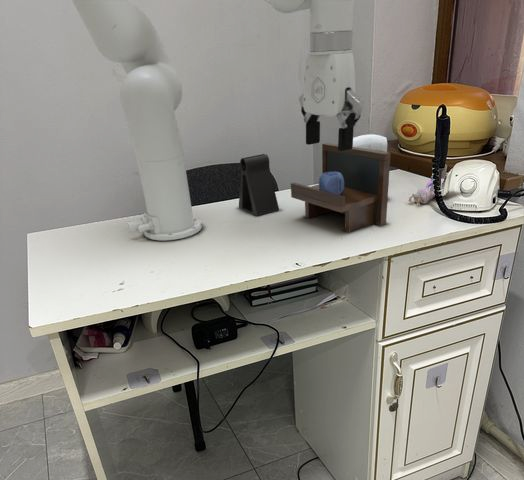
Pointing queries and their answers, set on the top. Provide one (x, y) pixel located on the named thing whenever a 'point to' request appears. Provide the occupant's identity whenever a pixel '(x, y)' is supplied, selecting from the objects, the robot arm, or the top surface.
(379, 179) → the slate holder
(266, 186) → the phone stand
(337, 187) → the decorative dice
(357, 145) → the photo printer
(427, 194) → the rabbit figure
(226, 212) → the top surface
